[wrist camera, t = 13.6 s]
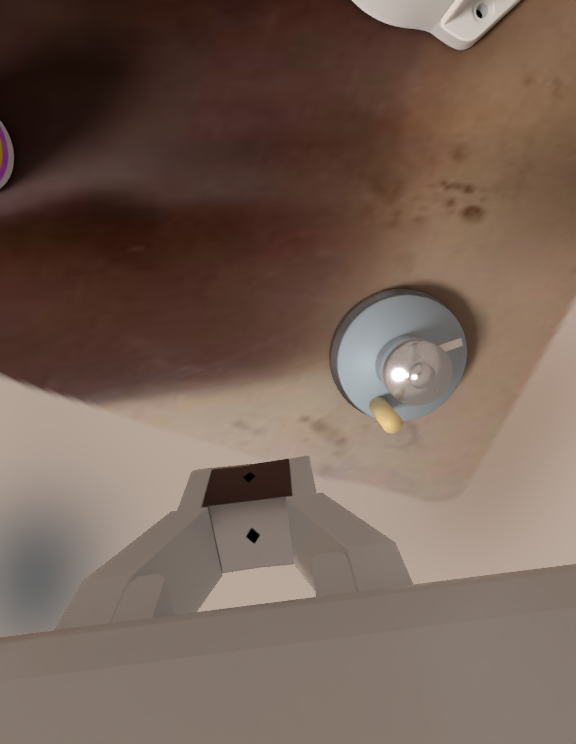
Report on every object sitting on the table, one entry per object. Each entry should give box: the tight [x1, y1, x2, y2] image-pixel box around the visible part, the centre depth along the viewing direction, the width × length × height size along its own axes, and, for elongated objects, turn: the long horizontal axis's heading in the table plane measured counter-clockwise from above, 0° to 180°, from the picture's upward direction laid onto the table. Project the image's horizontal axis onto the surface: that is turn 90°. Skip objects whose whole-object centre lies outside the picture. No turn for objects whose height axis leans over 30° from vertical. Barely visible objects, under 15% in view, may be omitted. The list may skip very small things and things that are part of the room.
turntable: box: [336, 294, 467, 433], centre depth 30 cm, size 11×11×5 cm
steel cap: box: [375, 334, 452, 406], centre depth 30 cm, size 5×5×4 cm
